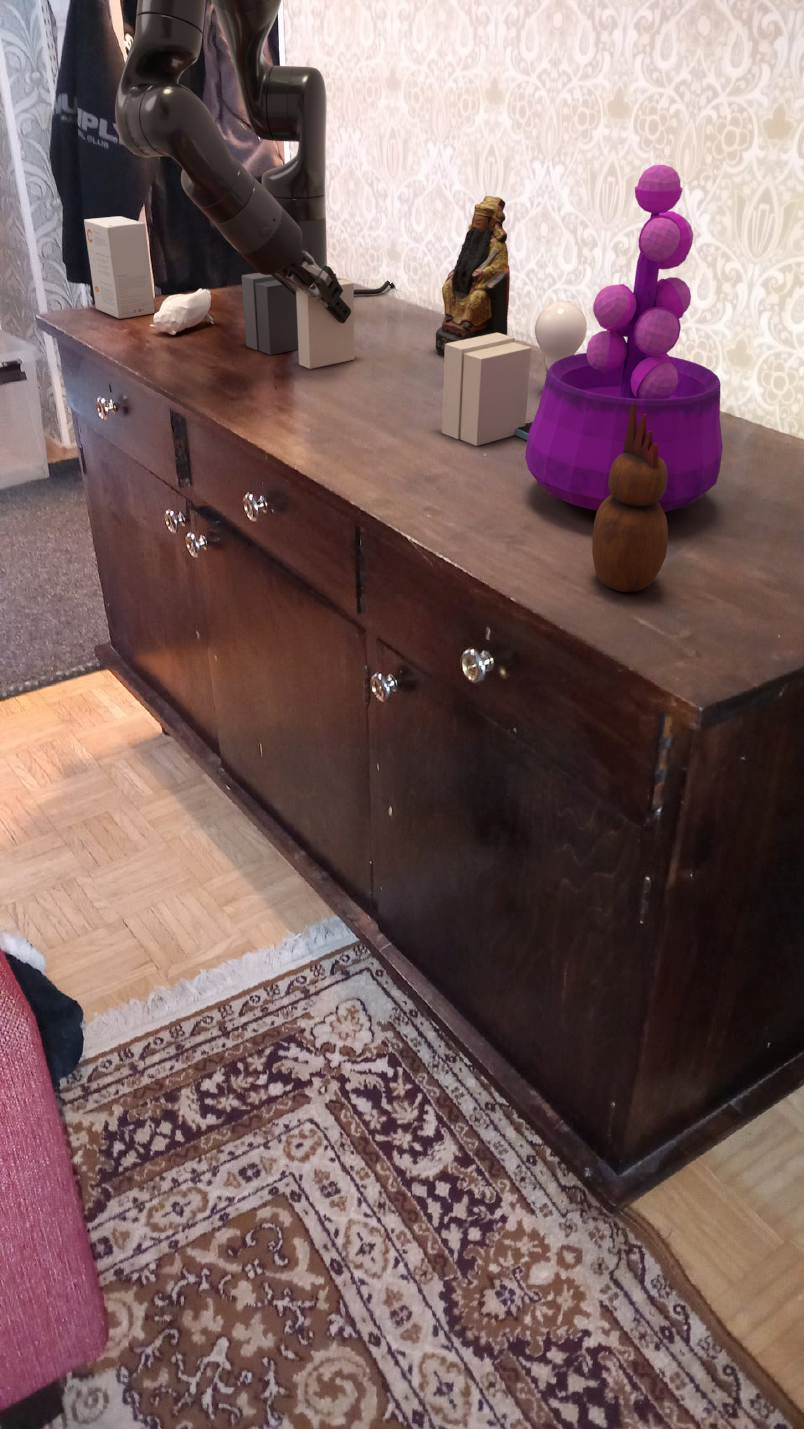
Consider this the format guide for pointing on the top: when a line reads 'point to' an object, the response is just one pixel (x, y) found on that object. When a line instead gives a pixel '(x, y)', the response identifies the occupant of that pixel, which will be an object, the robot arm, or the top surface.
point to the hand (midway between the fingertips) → (338, 314)
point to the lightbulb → (560, 331)
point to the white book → (324, 330)
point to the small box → (119, 266)
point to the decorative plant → (633, 377)
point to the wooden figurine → (632, 514)
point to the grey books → (269, 314)
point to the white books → (485, 388)
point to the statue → (478, 280)
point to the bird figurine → (183, 311)
